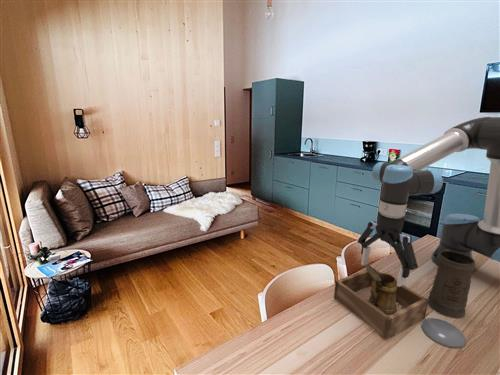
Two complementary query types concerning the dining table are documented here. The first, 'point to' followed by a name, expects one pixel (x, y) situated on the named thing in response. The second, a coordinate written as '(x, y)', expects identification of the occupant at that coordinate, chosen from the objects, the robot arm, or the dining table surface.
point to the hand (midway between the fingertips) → (381, 274)
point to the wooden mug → (383, 291)
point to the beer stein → (451, 284)
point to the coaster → (443, 333)
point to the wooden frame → (373, 315)
